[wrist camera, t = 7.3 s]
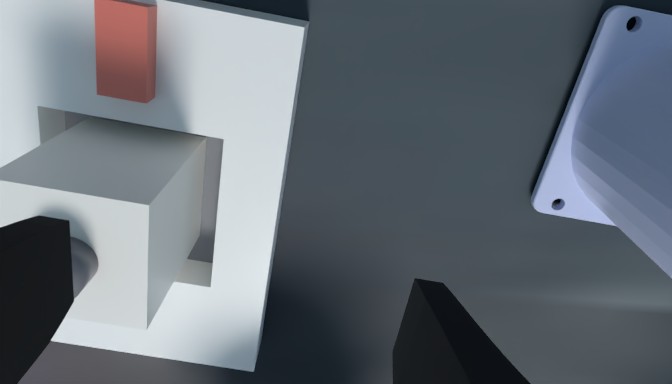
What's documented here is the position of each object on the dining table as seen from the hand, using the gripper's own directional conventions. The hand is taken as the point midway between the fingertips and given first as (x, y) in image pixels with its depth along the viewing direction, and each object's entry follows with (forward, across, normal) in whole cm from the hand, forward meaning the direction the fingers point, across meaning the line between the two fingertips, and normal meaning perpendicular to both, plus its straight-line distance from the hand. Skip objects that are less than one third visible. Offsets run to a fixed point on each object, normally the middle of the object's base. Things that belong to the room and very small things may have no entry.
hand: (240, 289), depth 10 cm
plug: (+10, +6, +3) cm, 11 cm away
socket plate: (+10, +6, +3) cm, 12 cm away
